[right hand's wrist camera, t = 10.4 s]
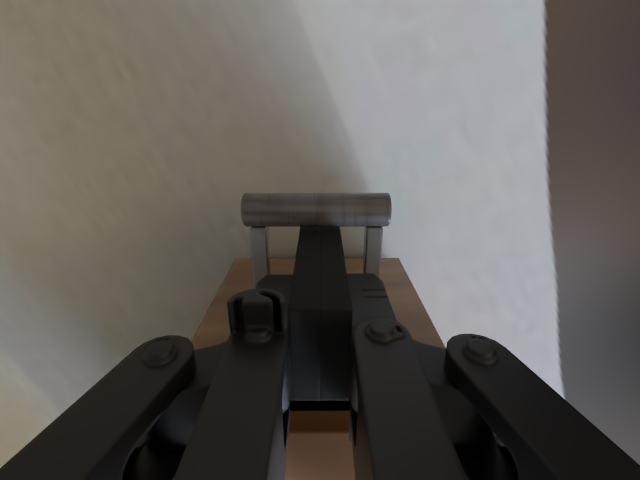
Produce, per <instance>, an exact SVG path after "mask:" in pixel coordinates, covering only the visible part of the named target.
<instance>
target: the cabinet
mask: <svg viewBox="0 0 640 480" xmlns="http://www.w3.org/2000/svg"><path fill="white" fill-rule="evenodd" d="M349 422H350V411H290V428H289V439H288V450H287V461H286V472H285V480H355V471H354V460H353V449H352V441H349Z"/></svg>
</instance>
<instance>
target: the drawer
mask: <svg viewBox="0 0 640 480" xmlns="http://www.w3.org/2000/svg"><path fill="white" fill-rule="evenodd" d="M241 216H242V221H243V224H244V226H246V227H251V226H252V227H251V228H250V235H251V248H252V259H235V261H234V263H233V264H232V266H231V268H230V270H229V272H228V274H227V276H226V278H225V279H224V281H223V283H222V285H221V287H220V289H219V291H218V293H217V294H216V296H215V298H214V300H213V302H212V304H211V306H210V308H209V310H208V311H207V313H206V315H205V317H204V319H203V321H202V323H201V325H200V326H199V328H198V330H197V332H196V334H195V336H194V338H193V340H192V341H191V342H192V343H193V347H194V350H196V349H201V348H206V347H211V346H214V345H218V344H221V343H223V342H225V341H227V340H228V338H229V335H230V326H229V317H228V308H227V302H228V301H229V299H230V298H231V297H232V296H234V295H236V294H237V293H239V292H242V291H245V290H249V289H255V288H256V285H257V282H258V281H259V280H260V279H262V278H263V277H264V276H265V275H266V274H293V271H294V265H295V259H270V252H269V234H268V226H365V236H364V256H363V258H344V259H345V265H346V271H347V273H374V274H375V275H376V276H377V277H379V278H380V279H381V280H382V281H383V284H384V286H385V291H386V292H387V295H388V298H389V300H390V303H391V306H392V309H393V312H394V314H395V317H396V320H397V321H398V322H399V323H401V324H402V325H404V326H405V327H406V328H407V330H408V331H409V332H410V335H411V337H412V339H414V340H416V341H418V342H421V343H424V344H428V345H432V346H437V347H442V348H445V346H444V344H443V342H442V340H441V338H440V336H439V335H438V333H437V331H436V329H435V327H434V325H433V323H432V321H431V319H430V317H429V315H428V314H427V312H426V310H425V308H424V306H423V304H422V302H421V300H420V298H419V296H418V294H417V292H416V291H415V289H414V287H413V285H412V283H411V281H410V279H409V277H408V275H407V273H406V271H405V270H404V268H403V266H402V264H401V262H400V260H399V258H381V248H382V233H383V228H382V226H388V225H389V223H390V220H391V198H390V195H389V193H245V194H243V197H242V202H241ZM290 411H350V393H349V401H291V395H290Z"/></svg>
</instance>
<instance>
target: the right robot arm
mask: <svg viewBox="0 0 640 480" xmlns="http://www.w3.org/2000/svg"><path fill="white" fill-rule="evenodd" d="M227 308H228V317H229V326H230V335H229V338H228V340H227V341H225V342H223V343H221V344H218V345H214V346H211V347H206V348H201V349H196V350H194V347H193V343H192V342H191V341H190V340H189V339H188V338H185V337H182V336H163V337H158V338H155V339H153V340H150V341H148V342H145V343H144V344H142V345H141V346H139V347H138V348H136V349H135V350H134V351H132V352H131V353H130V354H129V355H128V356H127V357H126V358H125V359H123V360H122V361H121V362H120V363H119V364H118V365H117V366H115V367H114V368H113V369H112V370H111V371H110V372H109V373H108V374H106V375H105V376H104V377H103V378H102V379H101V380H100V381H99V382H97V383H96V384H95V385H94V386H93V387H92V388H91V389H89V390H88V391H87V392H86V393H85V394H84V395H83V396H82V397H80V398H79V399H78V400H77V401H76V402H75V403H74V404H73V405H71V406H70V407H69V408H68V409H67V410H66V411H65V412H63V413H62V414H61V415H60V416H59V417H58V418H57V419H56V420H54V421H53V422H52V423H51V424H50V425H49V426H48V427H46V428H45V429H44V430H43V431H42V432H41V433H40V434H39V435H37V436H36V437H35V438H34V439H33V440H32V441H31V442H30V443H28V444H27V445H26V446H25V447H24V448H23V449H22V450H20V451H19V452H18V453H17V454H16V455H15V456H14V457H13V458H11V459H10V460H9V461H8V462H7V463H6V464H5V465H3V466H2V467H1V468H0V480H285V472H286V461H287V450H288V439H289V428H290V395H291V401H349V393H350V422H349V441H352V449H353V460H354V471H355V480H640V465H639V464H638V463H636V462H635V461H634V460H633V459H632V458H631V457H630V456H628V455H627V454H626V453H625V452H624V451H623V450H622V449H620V448H619V447H618V446H617V445H616V444H615V443H614V442H612V441H611V440H610V439H609V438H608V437H607V436H606V435H604V434H603V433H602V432H601V431H600V430H599V429H598V428H596V427H595V426H594V425H593V424H592V423H591V422H590V421H589V420H587V419H586V418H585V417H584V416H583V415H582V414H581V413H579V412H578V411H577V410H576V409H575V408H574V407H573V406H571V405H570V404H569V403H568V402H567V401H566V400H565V399H563V398H562V397H561V396H560V395H559V394H558V393H557V392H555V391H554V390H553V389H552V388H551V387H550V386H549V385H547V384H546V383H545V382H544V381H543V380H542V379H541V378H539V377H538V376H537V375H536V374H535V373H534V372H533V371H532V370H530V369H529V368H528V367H527V366H526V365H525V364H524V363H522V362H521V361H520V360H519V359H518V358H517V357H516V356H514V355H513V354H512V353H511V352H510V351H509V350H508V349H506V348H505V347H504V346H502V345H501V344H499V343H498V342H496V341H494V340H492V339H489V338H487V337H484V336H481V335H475V334H460V335H457V336H454V337H452V338H451V339H450V340H449V341H448V342H447V347H446V348H442V347H437V346H432V345H428V344H424V343H421V342H418V341H416V340H414V339H412V337H411V335H410V332H409V331H408V330H407V328H406V327H405V326H404V325H402V324H401V323H399V322H398V321H397V320H396V317H395V314H394V312H393V309H392V306H391V303H390V300H389V298H388V295H387V292H386V291H385V286H384V284H383V281H382V280H381V279H380V278H379V277H377V276H376V275H375V274H374V273H347V271H346V265H345V259H344V253H343V246H342V240H341V234H340V228H339V226H301V228H300V234H299V240H298V246H297V253H296V259H295V265H294V271H293V274H266V275H265V276H264V277H263V278H262V279H260V280H259V281H258V282H257V285H256V288H255V289H249V290H245V291H242V292H239V293H237V294H236V295H234V296H232V297H231V298H230V299H229V301H228V302H227Z"/></svg>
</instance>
